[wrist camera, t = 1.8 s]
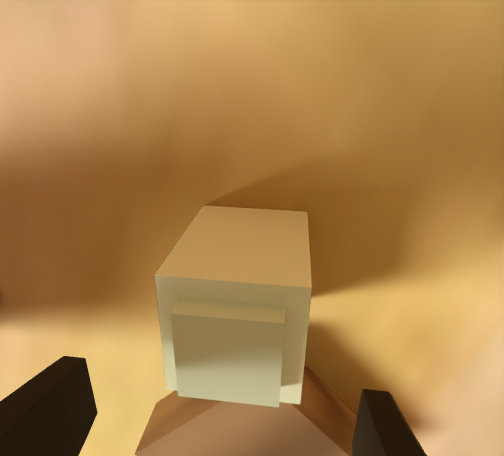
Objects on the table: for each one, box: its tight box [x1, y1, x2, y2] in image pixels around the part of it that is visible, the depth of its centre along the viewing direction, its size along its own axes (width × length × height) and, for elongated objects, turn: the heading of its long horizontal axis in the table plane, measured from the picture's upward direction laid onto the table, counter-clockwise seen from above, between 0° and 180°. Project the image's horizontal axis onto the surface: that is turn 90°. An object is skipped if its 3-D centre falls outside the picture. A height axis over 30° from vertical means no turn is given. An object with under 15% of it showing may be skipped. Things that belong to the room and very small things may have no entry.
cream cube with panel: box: [155, 205, 312, 407], centre depth 14 cm, size 5×5×7 cm
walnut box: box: [135, 365, 357, 456], centre depth 20 cm, size 9×9×4 cm
